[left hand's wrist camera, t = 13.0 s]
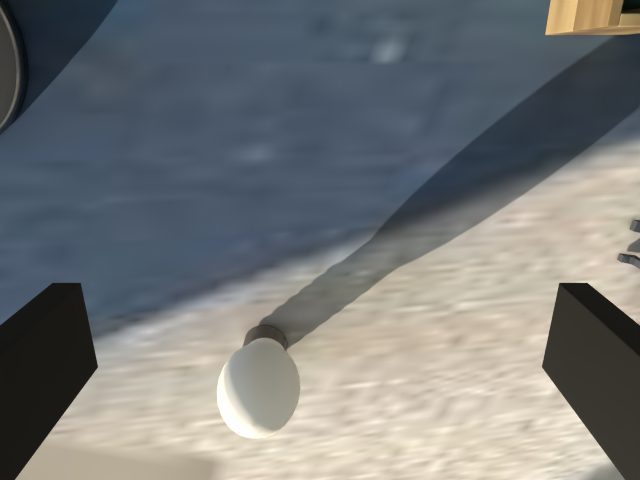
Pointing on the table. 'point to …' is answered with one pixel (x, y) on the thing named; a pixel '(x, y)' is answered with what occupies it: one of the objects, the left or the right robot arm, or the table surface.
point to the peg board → (591, 18)
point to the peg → (630, 4)
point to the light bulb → (259, 385)
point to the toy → (631, 259)
